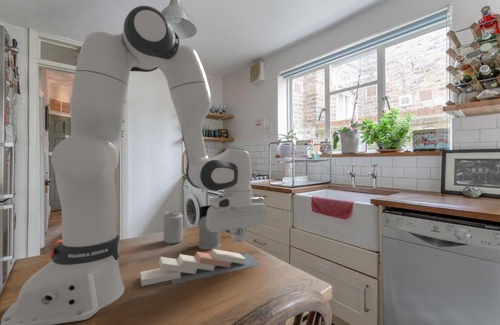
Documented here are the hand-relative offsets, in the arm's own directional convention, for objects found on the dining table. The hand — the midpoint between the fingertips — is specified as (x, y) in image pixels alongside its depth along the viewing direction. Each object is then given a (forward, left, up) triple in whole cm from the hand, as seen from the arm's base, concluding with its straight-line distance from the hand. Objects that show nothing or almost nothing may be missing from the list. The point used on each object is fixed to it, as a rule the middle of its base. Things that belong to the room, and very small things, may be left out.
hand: (237, 241), depth 78 cm
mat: (-7, 0, -7) cm, 10 cm away
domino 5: (+2, 0, -6) cm, 6 cm away
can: (-15, +30, -7) cm, 34 cm away
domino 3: (-9, 0, -6) cm, 10 cm away
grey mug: (-2, +21, -7) cm, 22 cm away
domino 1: (-18, 0, -6) cm, 19 cm away
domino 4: (-3, 0, -6) cm, 7 cm away
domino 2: (-14, 0, -6) cm, 15 cm away
